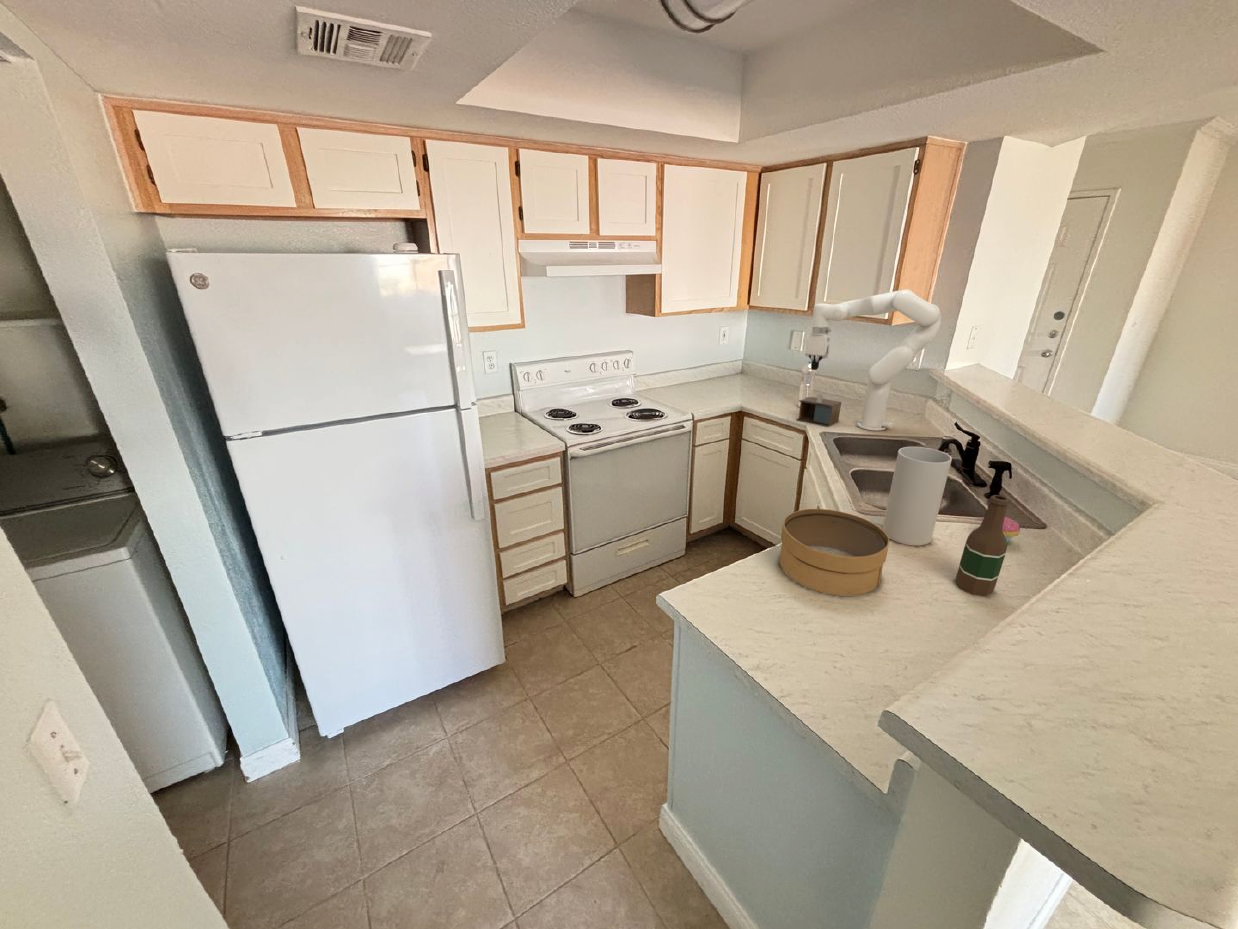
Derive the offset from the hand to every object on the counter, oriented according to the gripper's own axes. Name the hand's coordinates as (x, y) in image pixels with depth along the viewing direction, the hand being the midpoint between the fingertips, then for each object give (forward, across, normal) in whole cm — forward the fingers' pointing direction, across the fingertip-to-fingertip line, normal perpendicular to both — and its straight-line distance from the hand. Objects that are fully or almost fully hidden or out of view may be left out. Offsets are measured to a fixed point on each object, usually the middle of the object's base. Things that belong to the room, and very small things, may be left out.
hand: (814, 369), depth 244 cm
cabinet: (+25, -5, -1) cm, 26 cm away
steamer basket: (+25, -67, +123) cm, 142 cm away
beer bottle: (+25, -95, +106) cm, 145 cm away
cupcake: (+25, -94, +76) cm, 123 cm away
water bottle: (+25, +12, -20) cm, 34 cm away
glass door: (+24, -9, +5) cm, 26 cm away
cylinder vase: (+25, -75, +91) cm, 121 cm away
